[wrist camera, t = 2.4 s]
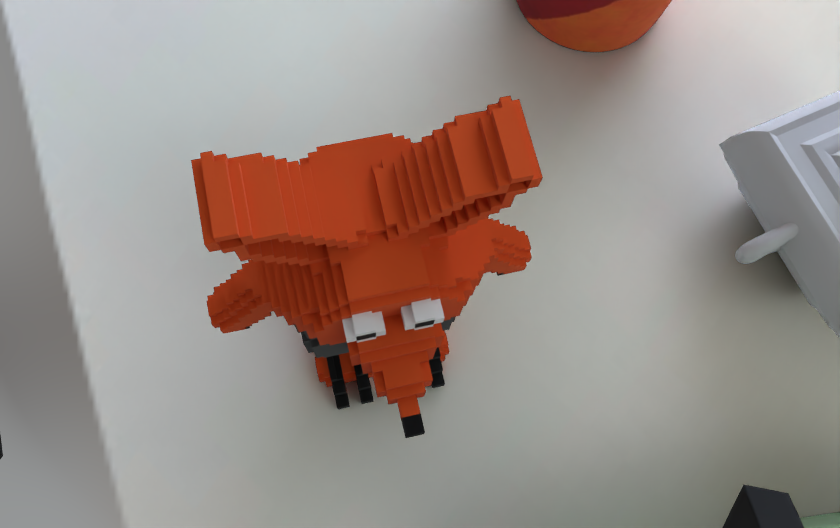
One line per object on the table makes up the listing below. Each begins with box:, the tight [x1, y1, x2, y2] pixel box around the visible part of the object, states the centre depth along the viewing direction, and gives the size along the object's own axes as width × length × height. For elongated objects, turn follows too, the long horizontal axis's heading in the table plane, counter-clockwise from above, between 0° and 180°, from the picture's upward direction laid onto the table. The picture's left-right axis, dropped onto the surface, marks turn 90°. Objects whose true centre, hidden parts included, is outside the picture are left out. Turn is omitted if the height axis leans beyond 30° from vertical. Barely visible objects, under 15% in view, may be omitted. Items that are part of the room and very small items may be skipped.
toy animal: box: [191, 96, 543, 438], centre depth 17 cm, size 8×6×12 cm
